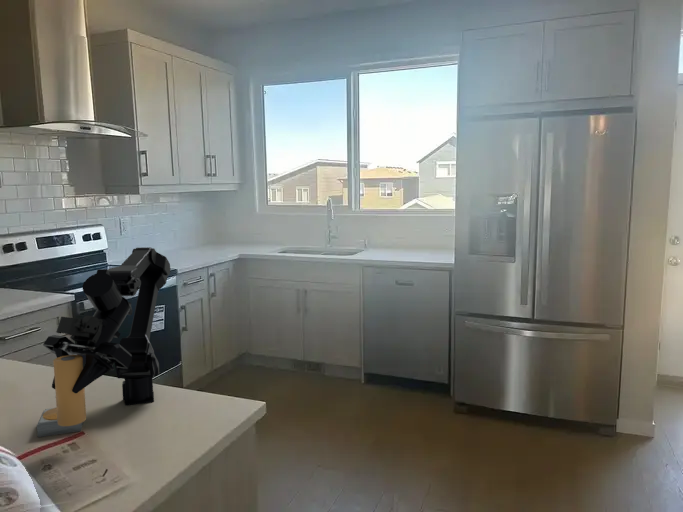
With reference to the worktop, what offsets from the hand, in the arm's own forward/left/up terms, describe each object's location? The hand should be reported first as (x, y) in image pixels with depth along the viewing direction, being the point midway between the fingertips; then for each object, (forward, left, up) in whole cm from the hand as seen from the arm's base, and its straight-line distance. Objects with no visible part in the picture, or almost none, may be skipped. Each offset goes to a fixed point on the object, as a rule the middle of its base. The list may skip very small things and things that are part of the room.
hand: (63, 390), depth 100 cm
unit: (+3, -13, -12) cm, 18 cm away
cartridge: (-1, -1, -7) cm, 7 cm away
